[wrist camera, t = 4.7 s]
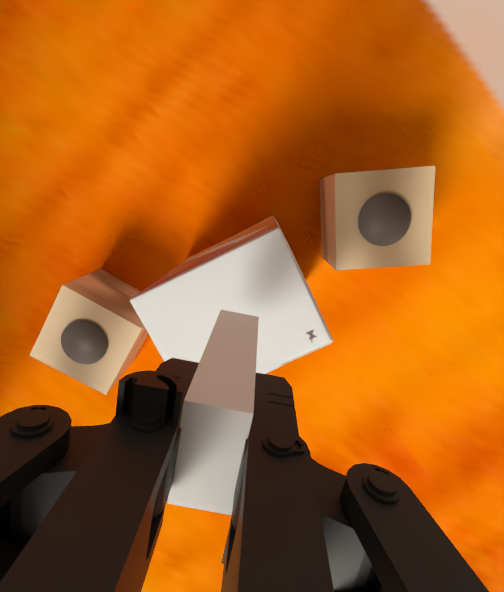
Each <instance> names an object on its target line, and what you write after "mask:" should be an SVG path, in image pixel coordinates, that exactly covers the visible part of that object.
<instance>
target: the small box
mask: <svg viewBox="0 0 504 592" xmlns="http://www.w3.org/2000/svg"><path fill="white" fill-rule="evenodd" d="M130 302H131V304H132V306H133V308H134V309H135V311H136V313H137V314H138V316H139V318H140V320H141V321H142V323H143V325H144V326H145V328H146V330H147V332H148V333H149V335H150V337H151V339H152V341H153V342H154V344H155V346H156V348H157V349H158V351H159V353H160V355H161V356H162V358H163V360H164V362H165V361H167V360H169V359H171V358H177V359H182V360H187V361H192V362H197V363H199V362H200V360H201V357H202V355H203V352H204V350H205V347H206V345H207V342H208V340H209V338H210V335H211V333H212V330H213V328H214V325H215V323H216V320H217V318H218V315H219V313H220V311H221V310H226V311H231V312H237V313H242V314H247V315H252V316H257V317H259V322H258V340H257V358H256V373H262V374H266V373H268V372H270V371H272V370H275V369H277V368H279V367H280V366H282V365H284V364H286V363H288V362H291V361H293V360H295V359H297V358H299V357H302V356H304V355H306V354H309V353H311V352H313V351H315V350H318V349H320V348H322V347H324V346H327V345H329V344H331V343H332V342H333V339H332V337H331V334H330V332H329V330H328V328H327V326H326V324H325V321H324V319H323V317H322V315H321V313H320V310H319V308H318V306H317V304H316V301H315V299H314V297H313V295H312V293H311V291H310V288H309V286H308V284H307V282H306V280H305V278H304V276H303V273H302V271H301V269H300V267H299V265H298V263H297V261H296V259H295V257H294V254H293V252H292V250H291V248H290V246H289V244H288V242H287V240H286V238H285V236H284V234H283V232H282V230H281V228H280V226H279V224H278V222H277V220H276V219H275V217H274V216H273V215H272V216H270V217H268V218H266V219H264V220H263V221H261V222H259V223H257V224H255V225H253V226H251V227H249V228H247V229H245V230H243V231H241V232H239V233H237V234H235V235H233V236H231V237H229V238H227V239H225V240H223V241H221V242H219V243H217V244H215V245H213V246H211V247H209V248H207V249H205V250H203V251H201V252H199V253H197V254H194V255H192V256H190V257H188V258H186V259H185V260H184V261H182V262H181V263H180V264H178V265H177V266H176V267H174V268H173V269H172V270H170V271H169V272H167V273H166V274H165V275H163V276H162V277H161V278H159V279H158V280H156V281H155V282H154V283H152V284H151V285H149V286H148V287H147V288H145V289H144V290H143V291H141V292H140V293H138V294H137V295H135V296H134V297H132V298H130Z"/></svg>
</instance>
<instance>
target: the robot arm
mask: <svg viewBox="0 0 504 592" xmlns="http://www.w3.org/2000/svg"><path fill="white" fill-rule="evenodd" d="M258 322H259V317H257V316H252V315H247V314H242V313H237V312H231V311H226V310H221V311H220V313H219V315H218V318H217V320H216V323H215V325H214V328H213V330H212V333H211V335H210V338H209V340H208V342H207V345H206V347H205V350H204V352H203V355H202V357H201V360H200V362H199V363H197V362H192V361H187V360H182V359H177V358H171V359H169V360H167V361H165V362H163V363H161V364H160V366H159V367H158V369H157V370H156V371H140V372H135V373H132V374H129V375H126V376H125V377H123V378H122V379H121V380H119V388H118V397H117V407H116V416H115V417H114V418H113V420H112V421H111V423H108V424H104V425H96V426H73V427H71V418H70V416H69V414H68V413H67V412H66V411H64V410H62V409H61V408H58V407H54V406H49V405H33V406H28V407H23V408H19V409H16V410H14V411H11V412H9V413H7V414H5V415H3V416H1V417H0V592H141V589H142V586H143V583H144V580H145V577H146V574H147V570H148V567H149V564H150V561H151V558H152V555H153V551H154V548H155V545H156V542H157V539H158V536H159V532H160V529H161V526H162V521H163V515H164V508H165V504H166V501H167V498H168V504H173V505H178V506H184V507H189V508H195V509H200V510H205V511H211V512H216V513H222V514H227V515H231V514H232V518H231V523H230V527H229V532H228V536H227V541H226V545H225V550H224V554H223V559H222V563H223V564H224V571H223V580H222V588H221V592H489V591H488V590H487V588H486V587H485V586H484V584H483V583H482V582H481V581H480V579H479V578H478V577H477V575H476V574H475V573H474V571H473V570H472V569H471V567H470V566H469V565H468V564H467V562H466V561H465V560H464V558H463V557H462V556H461V554H460V553H459V552H458V550H457V549H456V548H455V547H454V545H453V544H452V543H451V541H450V540H449V539H448V537H447V536H446V535H445V533H444V532H443V531H442V530H441V528H440V527H439V526H438V524H437V523H436V522H435V520H434V519H433V518H432V516H431V515H430V514H429V513H428V511H427V510H426V509H425V507H424V506H423V505H422V503H421V502H420V501H419V499H418V498H417V497H416V496H415V494H414V493H413V492H412V490H411V489H410V488H409V487H408V486H407V485H406V484H405V483H404V482H403V481H402V480H401V479H400V478H399V477H398V476H396V475H395V474H393V473H392V472H390V471H389V470H386V469H384V468H382V467H379V466H377V465H372V464H366V463H362V464H356V465H354V466H352V467H351V468H350V469H349V470H348V472H347V475H346V476H345V475H342V474H340V473H338V472H335V471H333V470H331V469H328V468H326V467H324V466H322V465H321V464H319V463H317V462H316V461H315V460H313V459H312V458H311V456H310V451H309V449H308V446H307V444H306V443H305V442H304V441H303V440H302V439H301V437H300V436H299V433H298V426H297V419H296V412H295V408H294V406H295V405H294V399H293V392H292V387H291V386H290V384H289V383H288V382H287V381H286V379H285V378H282V377H277V376H272V375H267V374H262V373H256V358H257V340H258ZM168 495H169V497H168ZM232 509H233V510H232Z"/></svg>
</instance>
